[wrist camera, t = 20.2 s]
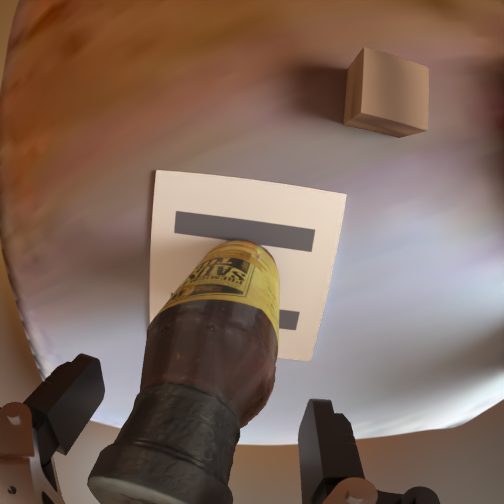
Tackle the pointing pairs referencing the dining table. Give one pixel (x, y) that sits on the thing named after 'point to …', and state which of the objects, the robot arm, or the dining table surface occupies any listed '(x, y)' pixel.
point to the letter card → (256, 230)
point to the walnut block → (386, 94)
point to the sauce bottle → (198, 383)
